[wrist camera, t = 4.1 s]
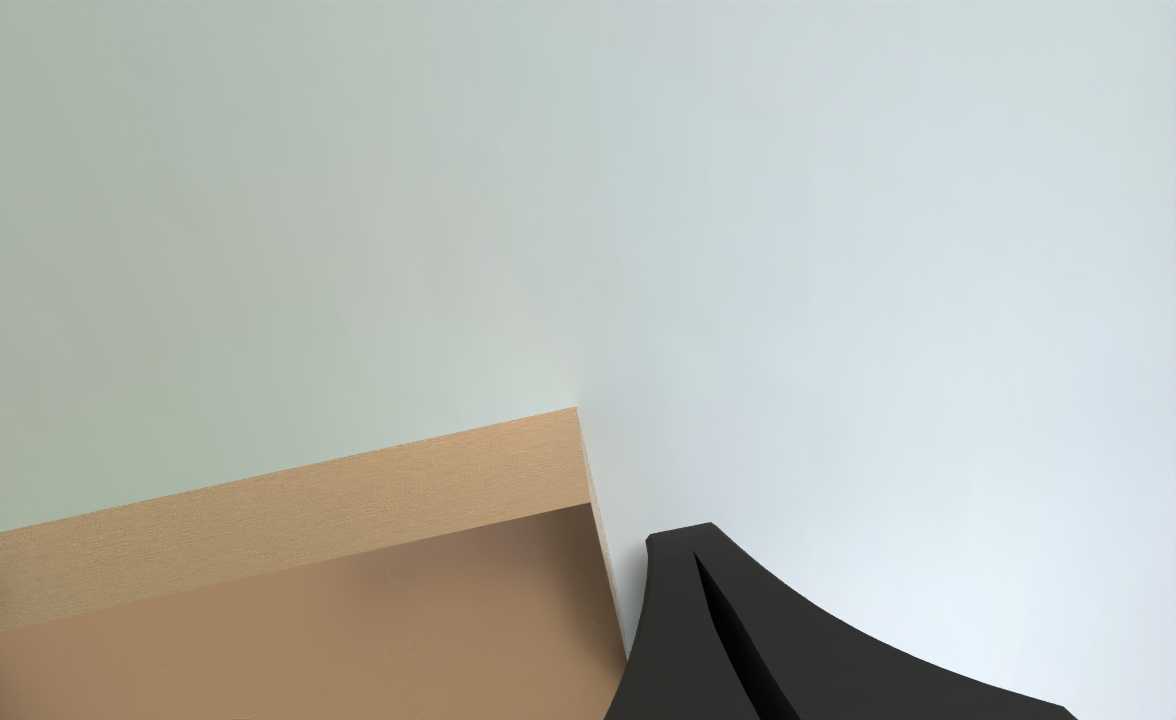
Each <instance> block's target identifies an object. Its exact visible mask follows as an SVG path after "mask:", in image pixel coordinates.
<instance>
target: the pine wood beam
mask: <svg viewBox="0 0 1176 720" xmlns="http://www.w3.org/2000/svg"><path fill="white" fill-rule="evenodd" d="M628 659H629V653H628V648H627V642H626V637H625V631H624V626H623V620H622V615H621V609H620V604H619V598H618V593H617V588H616V582H615V577H614V573H613V568H612V564H611V559H610V555H609V550H608V546H607V541H606V537H605V533H604V528H603V524H602V519H601V515H600V510H599V506H598V502H597V497H596V493H595V488H594V484H593V479H592V475H591V471H590V466H589V462H588V457H587V453H586V448H585V444H584V440H583V435H582V431H581V426H580V422H579V417H578V413H577V409H576V407H572V408H568V409H563V410H559V411H554V412H549V413H545V414H540V415H536V416H531V417H527V418H522V419H517V420H513V421H508V422H504V423H499V424H494V425H490V426H485V427H481V428H476V429H472V430H467V431H462V432H458V433H453V434H449V435H444V436H440V437H435V438H430V439H426V440H421V441H417V442H412V443H408V444H403V445H398V446H394V447H389V448H385V449H380V450H376V451H371V452H366V453H362V454H357V455H353V456H348V457H344V458H339V459H334V460H330V461H325V462H321V463H316V464H312V465H307V466H302V467H298V468H293V469H289V470H284V471H280V472H275V473H270V474H266V475H261V476H257V477H252V478H248V479H243V480H238V481H234V482H229V483H225V484H220V485H216V486H211V487H206V488H202V489H197V490H193V491H188V492H184V493H179V494H174V495H170V496H165V497H161V498H156V499H151V500H147V501H142V502H138V503H133V504H129V505H124V506H119V507H115V508H110V509H106V510H101V511H97V512H92V513H87V514H83V515H78V516H74V517H69V518H65V519H60V520H55V521H51V522H46V523H42V524H37V525H33V526H28V527H23V528H19V529H14V530H10V531H5V532H1V533H0V720H603V719H604V717H605V715H606V713H607V711H608V709H609V707H610V705H611V702H612V700H613V698H614V695H615V693H616V691H617V688H618V686H619V683H620V681H621V679H622V676H623V673H624V670H625V668H626V665H627V662H628Z"/></svg>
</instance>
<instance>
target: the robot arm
mask: <svg viewBox="0 0 1176 720" xmlns="http://www.w3.org/2000/svg"><path fill="white" fill-rule="evenodd" d="M645 541H646V547H647V553H648V570H647V581H646V588H645V595H644V602H643V607H642V611H641V616H640V620H639V624H638V628H637V632H636V636H635V640H634V643H633V647H632V650H631V653H630V656H629V659H628V662H627V665H626V668H625V670H624V673H623V676H622V679H621V681H620V683H619V686H618V688H617V691H616V693H615V695H614V698H613V700H612V702H611V705H610V707H609V709H608V711H607V713H606V715H605V717H604V719H603V720H1078V719H1076V718H1075V717H1074V716H1073V715H1072V714H1071V713H1070V712H1069V711H1068V710H1067V709H1066V708H1064V707H1063V706H1060V705H1056V704H1053V703H1049V702H1046V701H1042V700H1039V699H1036V698H1032V697H1029V696H1025V695H1022V694H1019V693H1015V692H1012V691H1008V690H1005V689H1001V688H998V687H995V686H991V685H988V684H985V683H982V682H979V681H977V680H974V679H971V678H968V677H966V676H963V675H960V674H957V673H955V672H952V671H949V670H946V669H944V668H941V667H939V666H936V665H934V664H931V663H929V662H926V661H924V660H921V659H919V658H916V657H914V656H912V655H910V654H908V653H905V652H903V651H901V650H899V649H897V648H894V647H892V646H890V645H888V644H886V643H884V642H881V641H879V640H877V639H875V638H873V637H871V636H869V635H867V634H865V633H863V632H861V631H860V630H858V629H856V628H854V627H852V626H851V625H849V624H847V623H845V622H843V621H842V620H840V619H838V618H836V617H835V616H833V615H831V614H829V613H828V612H826V611H824V610H823V609H821V608H820V607H818V606H817V605H815V604H814V603H812V602H811V601H809V600H808V599H806V598H805V597H803V596H802V595H800V594H799V593H797V592H796V591H795V590H793V589H792V588H790V587H789V586H788V585H786V584H785V583H784V582H782V581H781V580H780V579H778V578H777V577H776V576H774V575H773V574H772V573H771V572H769V571H768V570H767V569H765V568H764V567H763V566H762V565H760V564H759V563H758V562H757V561H755V560H754V559H753V558H752V557H751V556H749V555H748V554H747V553H746V552H745V551H744V550H742V549H741V548H740V547H739V546H738V545H737V544H736V543H735V542H733V541H732V540H731V539H730V538H729V537H728V536H727V535H726V534H725V533H724V532H722V531H721V530H720V529H719V528H718V527H717V526H716V525H714V524H713V523H711V522H709V523H704V524H699V525H694V526H689V527H684V528H679V529H674V530H669V531H664V532H659V533H654V534H650V535H649V537H648V538H647V539H646V540H645Z"/></svg>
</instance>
